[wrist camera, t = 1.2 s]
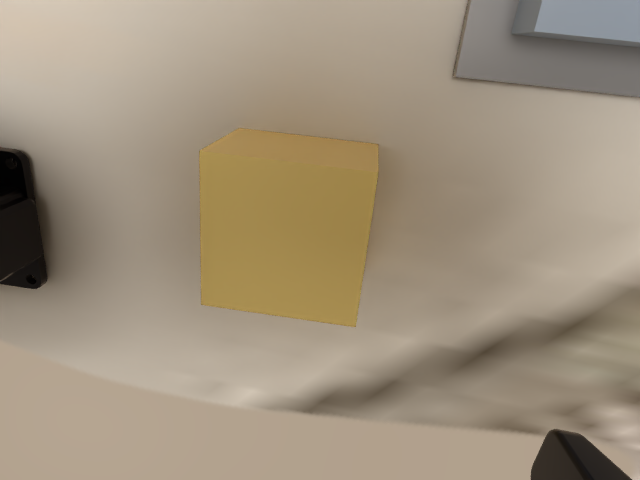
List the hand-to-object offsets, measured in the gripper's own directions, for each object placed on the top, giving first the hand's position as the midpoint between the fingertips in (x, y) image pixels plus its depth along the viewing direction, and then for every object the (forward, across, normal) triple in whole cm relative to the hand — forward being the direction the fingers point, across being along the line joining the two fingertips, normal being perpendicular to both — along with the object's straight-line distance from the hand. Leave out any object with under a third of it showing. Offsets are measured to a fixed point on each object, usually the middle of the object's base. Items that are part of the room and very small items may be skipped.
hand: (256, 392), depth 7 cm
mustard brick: (+12, +1, +1) cm, 12 cm away
